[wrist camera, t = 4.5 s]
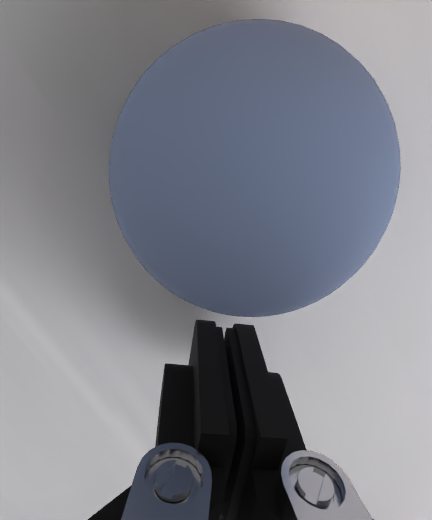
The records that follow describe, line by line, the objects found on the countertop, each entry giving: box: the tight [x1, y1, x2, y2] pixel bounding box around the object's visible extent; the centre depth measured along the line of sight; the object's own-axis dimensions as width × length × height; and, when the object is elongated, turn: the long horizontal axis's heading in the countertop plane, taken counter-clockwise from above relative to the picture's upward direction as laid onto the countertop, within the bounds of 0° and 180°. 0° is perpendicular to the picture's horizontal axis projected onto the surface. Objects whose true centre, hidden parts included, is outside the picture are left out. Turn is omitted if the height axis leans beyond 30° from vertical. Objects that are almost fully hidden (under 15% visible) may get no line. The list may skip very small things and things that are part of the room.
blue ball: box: [109, 19, 400, 317], centre depth 7 cm, size 6×6×6 cm
